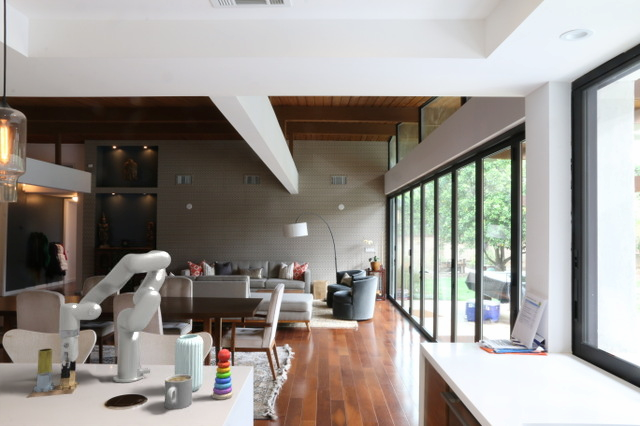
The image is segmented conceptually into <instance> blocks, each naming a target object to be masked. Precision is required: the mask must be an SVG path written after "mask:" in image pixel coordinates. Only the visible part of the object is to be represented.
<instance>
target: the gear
mask: <svg viewBox="0 0 640 426" xmlns="http://www.w3.org/2000/svg"><path fill="white" fill-rule="evenodd" d="M42 374H48V375H45V376H42ZM55 385H56V384H54V383H53V372H52V373H41V374H39V375H37V376H36V385H35V387H34V388H33V390H34V391H36V392H42V391H43V392H45V391H48V390H52V389H54V387H55Z"/></svg>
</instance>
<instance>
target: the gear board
mask: <svg viewBox="0 0 640 426" xmlns="http://www.w3.org/2000/svg"><path fill="white" fill-rule="evenodd" d="M70 373H71V372H70ZM45 375H48V374H42V376H45ZM77 383H78V385H77V387H78V386H79V384H80V382H77ZM54 385H55V387H54V389H52V390H48V391H45V392H43V391H42V392H36V391H34V389H33V390H32V391H31V392H30V393H29V394H28V395H27V396H26V398H28V399H29V398H37V397H38V398H39V397H40V398H41V397H49V396H59V395H60V396H62V395H72V394H73V392H75V390H76V389H77V387H75V388H73V389H68V390H63V389H62V390H59V389H58V385H59V384H54Z"/></svg>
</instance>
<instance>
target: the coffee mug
mask: <svg viewBox="0 0 640 426" xmlns="http://www.w3.org/2000/svg"><path fill="white" fill-rule="evenodd" d="M192 400H193V392H192V376H191V375H187V374H178V375H175V374H173V375H169V376H167V377H165V378H164V408H165V409H168V410H174V411H175V410H183V409H186V408H188V407H190V406H191V405H192V403H193V401H192Z"/></svg>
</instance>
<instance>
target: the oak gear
mask: <svg viewBox="0 0 640 426" xmlns="http://www.w3.org/2000/svg"><path fill="white" fill-rule="evenodd" d="M70 372H71V373H70V378H63V379H62V378H61V377H60V384H59V385H58V384H57V385H58V389H59V390H62V389H63V390H68V389H73V388H75V387H76V388H77V387H78V386H79V384H78V383H79V382H78V381H76V370H75V371H70ZM77 385H78V386H77Z"/></svg>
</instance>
